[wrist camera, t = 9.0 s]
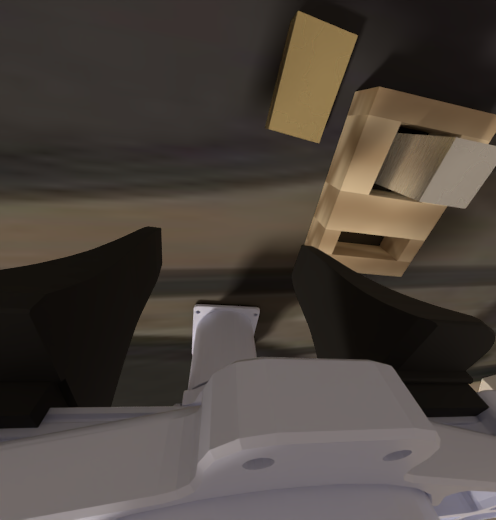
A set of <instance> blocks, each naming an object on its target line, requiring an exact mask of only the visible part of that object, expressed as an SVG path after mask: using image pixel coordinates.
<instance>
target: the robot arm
mask: <svg viewBox="0 0 496 520" xmlns="http://www.w3.org/2000/svg"><path fill="white" fill-rule="evenodd" d="M161 266H162V242H161V228H156V227H144V228H142V229H139V230H137V231H135V232H133V233H131V234H128V235H126V236H124V237H122V238H120V239H117V240H115V241H112V242H110V243H107V244H105V245H102V246H100V247H97V248H95V249H92V250H89V251H86V252H82V253H79V254H76V255H72V256H69V257H64V258H60V259H56V260H51V261H47V262H43V263H38V264H33V265H28V266H22V267H16V268H10V269H3V270H0V520H484V519H490V518H496V390H483V391H480V392H477V393H476V392H475V391H474V390H473V389H472V388H471V387H470V385H469V384H471V383H472V382H473V378H472V377H471V376H470V375H469V374H468V373H467V372H466V370H467V369H468V368H469V367H471V366H472V365H473V364H474V363H475V362H477V361H478V360H479V359H480V358H481V357H483V356H484V355H485V354H486V353H487V352H488V351H489V350H490V349H491V347H492V346H493V344H494V341H495V333H494V330H492V329H491V328H490V327H489V326H487V325H486V324H485V323H484V322H482V321H481V320H479V319H477V318H475V317H473V316H470V315H466V314H463V313H459V312H456V311H452V310H449V309H445V308H441V307H438V306H435V305H432V304H429V303H426V302H423V301H420V300H417V299H414V298H411V297H409V296H406V295H403V294H401V293H399V292H396V291H394V290H391V289H389V288H387V287H384V286H382V285H380V284H378V283H376V282H374V281H372V280H370V279H368V278H366V277H364V276H362V275H360V274H359V273H357V272H355V271H353V270H352V269H350V268H348V267H347V266H345V265H343V264H342V263H340V262H339V261H337V260H335V259H334V258H332V257H331V256H329V255H328V254H326V253H324V252H323V251H321V250H319V249H317V248H315V247H313V246H306V245H302V246H301V249H300V252H299V254H298V257H297V260H296V263H295V266H294V269H293V272H292V275H291V277H292V282H293V287H294V291H295V293H296V296H297V299H298V301H299V304H300V306H301V309H302V311H303V314H304V316H305V318H306V321H307V323H308V326H309V329H310V332H311V335H312V339H313V342H314V346H315V350H316V354H317V358H284V357H258V358H257V357H256V349H255V342H254V333H255V329H256V325H257V322H258V318H259V314H260V309H259V308H258V307H245V306H226V305H208V304H196V305H195V306H194V315H193V339H192V355H193V356H192V363H191V371H190V378H189V385H188V390H187V391H184V395H183V401H182V404H175V405H174V406H153V407H111V405H112V401H113V397H114V394H115V390H116V387H117V384H118V380H119V377H120V373H121V370H122V367H123V364H124V360H125V357H126V354H127V351H128V348H129V345H130V342H131V339H132V336H133V333H134V330H135V327H136V325H137V322H138V320H139V317H140V315H141V313H142V311H143V309H144V307H145V305H146V303H147V301H148V298H149V296H150V294H151V292H152V290H153V288H154V286H155V284H156V282H157V279H158V276H159V273H160V269H161ZM255 313H256V314H255Z"/></svg>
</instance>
